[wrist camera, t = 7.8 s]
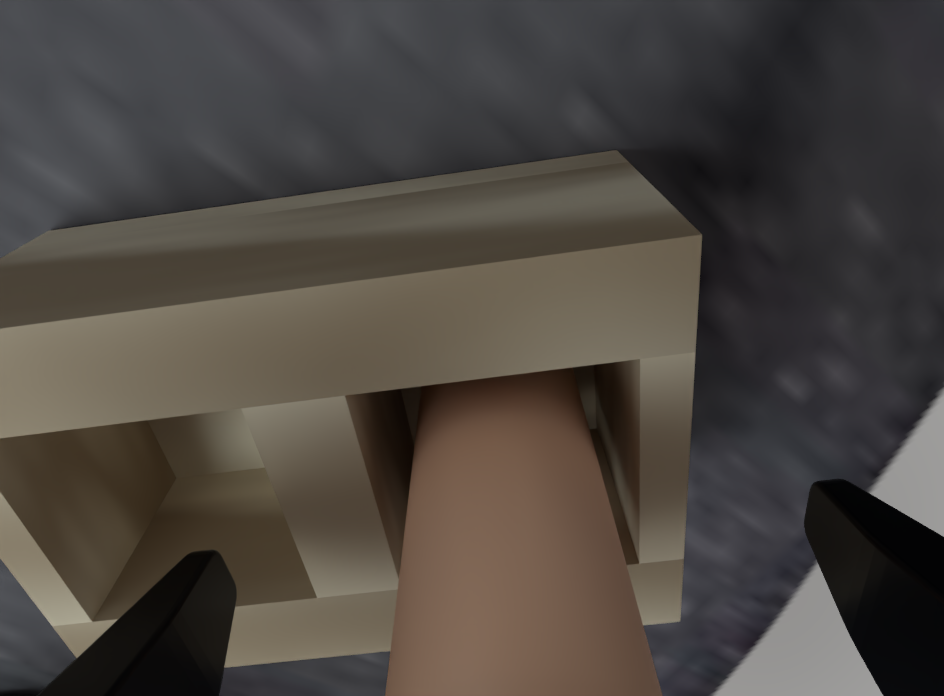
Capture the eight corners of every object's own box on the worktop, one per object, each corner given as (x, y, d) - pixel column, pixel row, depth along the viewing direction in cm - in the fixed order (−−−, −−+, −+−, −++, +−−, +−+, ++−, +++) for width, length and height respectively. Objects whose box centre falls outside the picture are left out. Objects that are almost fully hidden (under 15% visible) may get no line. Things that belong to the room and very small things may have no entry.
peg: (572, 413, 14) (669, 810, 7) (437, 429, 14) (411, 829, 8) (563, 290, 13) (676, 653, 6) (411, 310, 13) (346, 682, 6)
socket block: (621, 455, 16) (680, 621, 12) (187, 505, 17) (94, 681, 13) (616, 150, 12) (701, 234, 8) (48, 230, 13) (-159, 349, 9)
